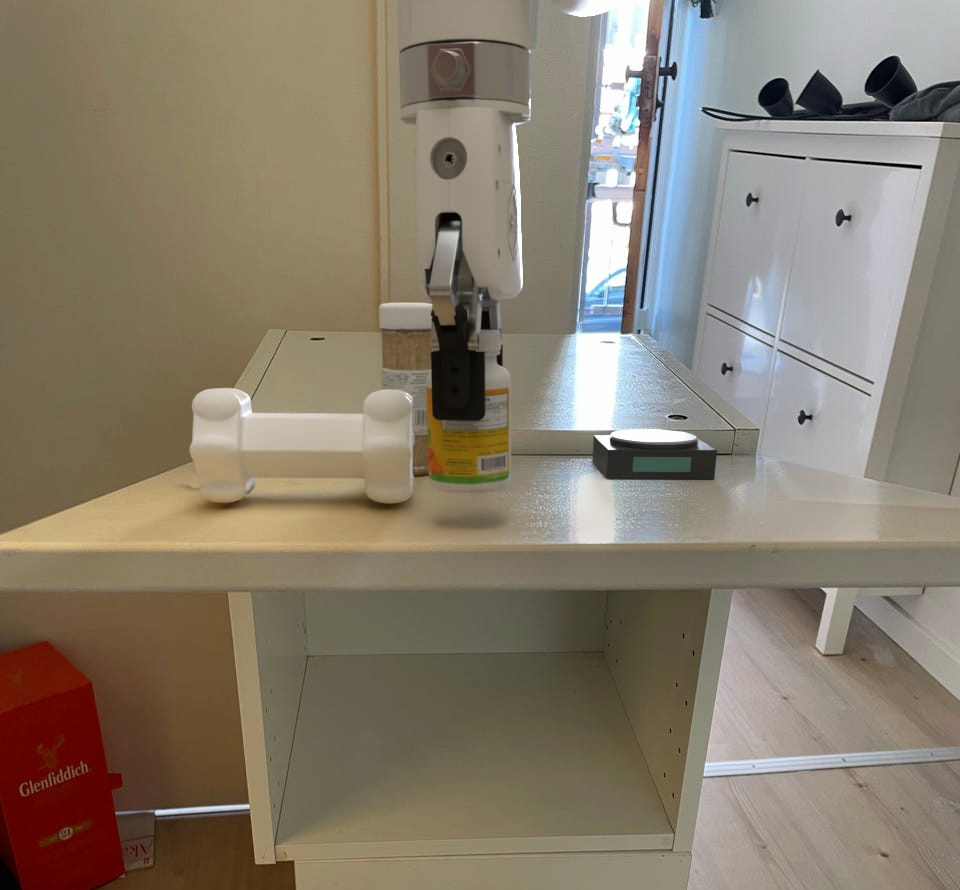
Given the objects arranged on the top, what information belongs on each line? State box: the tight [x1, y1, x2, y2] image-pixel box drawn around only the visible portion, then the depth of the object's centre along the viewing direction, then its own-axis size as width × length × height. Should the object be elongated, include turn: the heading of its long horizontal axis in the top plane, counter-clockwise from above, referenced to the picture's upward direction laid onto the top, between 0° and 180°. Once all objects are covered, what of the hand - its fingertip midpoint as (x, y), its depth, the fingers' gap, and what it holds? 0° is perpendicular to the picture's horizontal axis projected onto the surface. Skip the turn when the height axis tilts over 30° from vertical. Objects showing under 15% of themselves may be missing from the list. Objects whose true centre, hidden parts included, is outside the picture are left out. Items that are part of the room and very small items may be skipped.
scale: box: [591, 428, 718, 480], centre depth 83 cm, size 9×8×3 cm
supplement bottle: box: [426, 330, 512, 494], centre depth 62 cm, size 5×5×10 cm
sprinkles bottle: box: [378, 301, 432, 476], centre depth 80 cm, size 5×5×13 cm
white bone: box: [188, 387, 415, 504], centre depth 69 cm, size 15×9×8 cm, turn 92°
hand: (469, 409), depth 62 cm, fingers closed on supplement bottle, 5 cm apart
